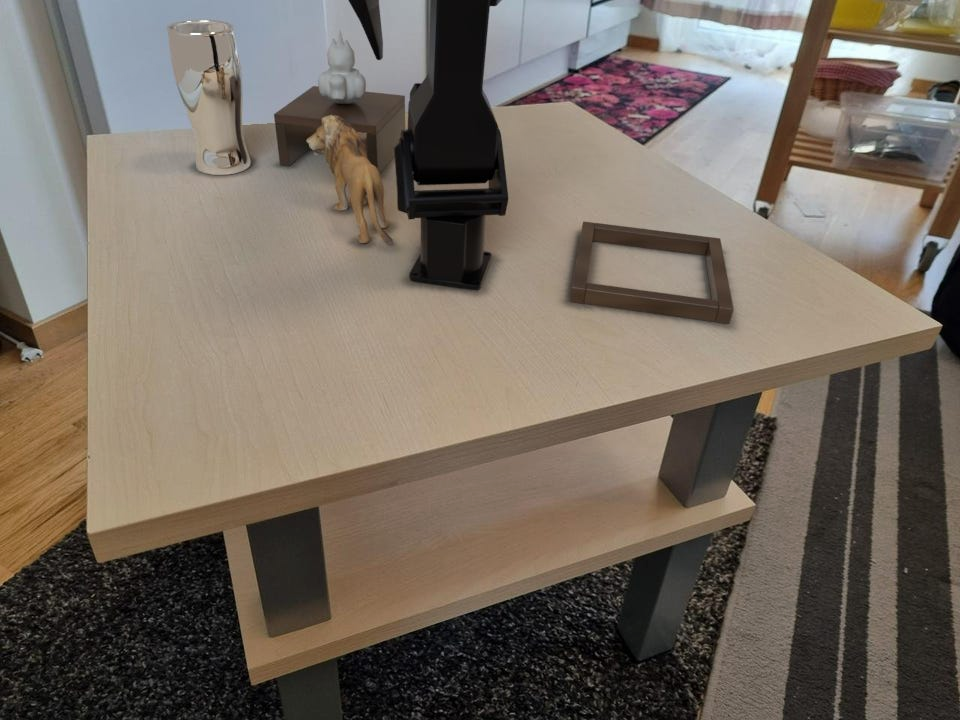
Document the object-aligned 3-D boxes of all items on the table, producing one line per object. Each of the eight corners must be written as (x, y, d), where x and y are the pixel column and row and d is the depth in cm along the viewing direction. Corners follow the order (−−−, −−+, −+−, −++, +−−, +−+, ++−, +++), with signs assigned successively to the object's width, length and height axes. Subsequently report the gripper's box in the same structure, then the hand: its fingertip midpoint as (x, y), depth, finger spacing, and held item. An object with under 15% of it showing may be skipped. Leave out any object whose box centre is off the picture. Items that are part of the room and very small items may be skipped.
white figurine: (370, 97, 87) (367, 26, 82) (361, 114, 82) (357, 39, 77) (326, 94, 87) (320, 23, 82) (314, 111, 82) (307, 36, 77)
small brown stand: (377, 177, 82) (375, 125, 79) (279, 165, 84) (273, 114, 80) (405, 142, 92) (405, 95, 88) (317, 132, 93) (313, 85, 90)
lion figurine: (308, 197, 77) (299, 113, 72) (353, 188, 79) (348, 107, 74) (368, 254, 67) (363, 162, 62) (417, 242, 70) (417, 152, 64)
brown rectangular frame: (729, 324, 60) (733, 309, 60) (569, 302, 62) (571, 287, 61) (716, 251, 71) (720, 238, 70) (581, 234, 73) (583, 221, 72)
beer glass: (232, 180, 80) (208, 36, 71) (179, 170, 81) (149, 28, 72) (266, 160, 85) (248, 24, 76) (216, 151, 87) (193, 16, 78)
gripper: (530, -111, 72) (518, 54, 81) (352, -122, 74) (360, 40, 83) (516, -106, 63) (504, 78, 72) (313, -119, 65) (327, 62, 74)
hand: (421, 63), depth 75 cm, fingers open, 9 cm apart
